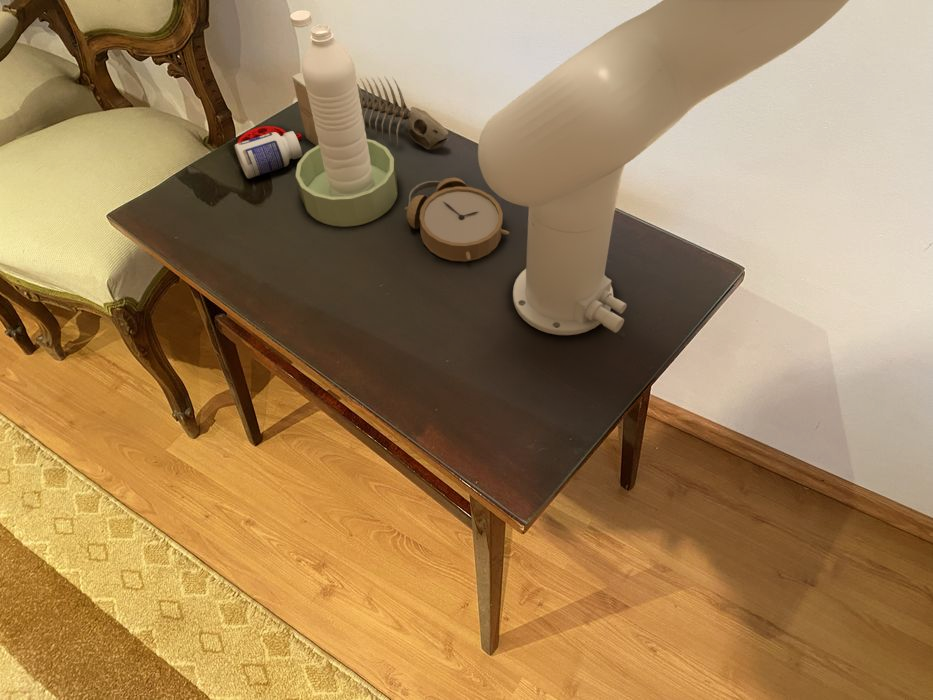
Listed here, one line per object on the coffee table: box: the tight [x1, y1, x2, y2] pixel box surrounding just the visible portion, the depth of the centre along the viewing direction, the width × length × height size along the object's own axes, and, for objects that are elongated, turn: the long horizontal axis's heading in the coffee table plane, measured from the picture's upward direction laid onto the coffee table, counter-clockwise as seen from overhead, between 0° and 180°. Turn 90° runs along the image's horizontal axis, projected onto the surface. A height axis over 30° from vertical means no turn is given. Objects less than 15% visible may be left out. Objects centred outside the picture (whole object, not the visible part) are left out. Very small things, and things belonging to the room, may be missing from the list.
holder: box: [295, 138, 399, 228], centre depth 106 cm, size 14×14×5 cm
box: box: [291, 71, 319, 147], centre depth 112 cm, size 5×4×11 cm
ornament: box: [237, 125, 303, 143], centre depth 116 cm, size 8×1×10 cm
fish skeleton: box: [357, 76, 449, 150], centre depth 114 cm, size 6×28×10 cm, turn 59°
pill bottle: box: [234, 130, 303, 179], centre depth 110 cm, size 5×5×9 cm
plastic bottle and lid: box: [290, 9, 375, 197], centre depth 97 cm, size 9×6×25 cm
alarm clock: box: [404, 177, 510, 263], centre depth 101 cm, size 11×5×15 cm
